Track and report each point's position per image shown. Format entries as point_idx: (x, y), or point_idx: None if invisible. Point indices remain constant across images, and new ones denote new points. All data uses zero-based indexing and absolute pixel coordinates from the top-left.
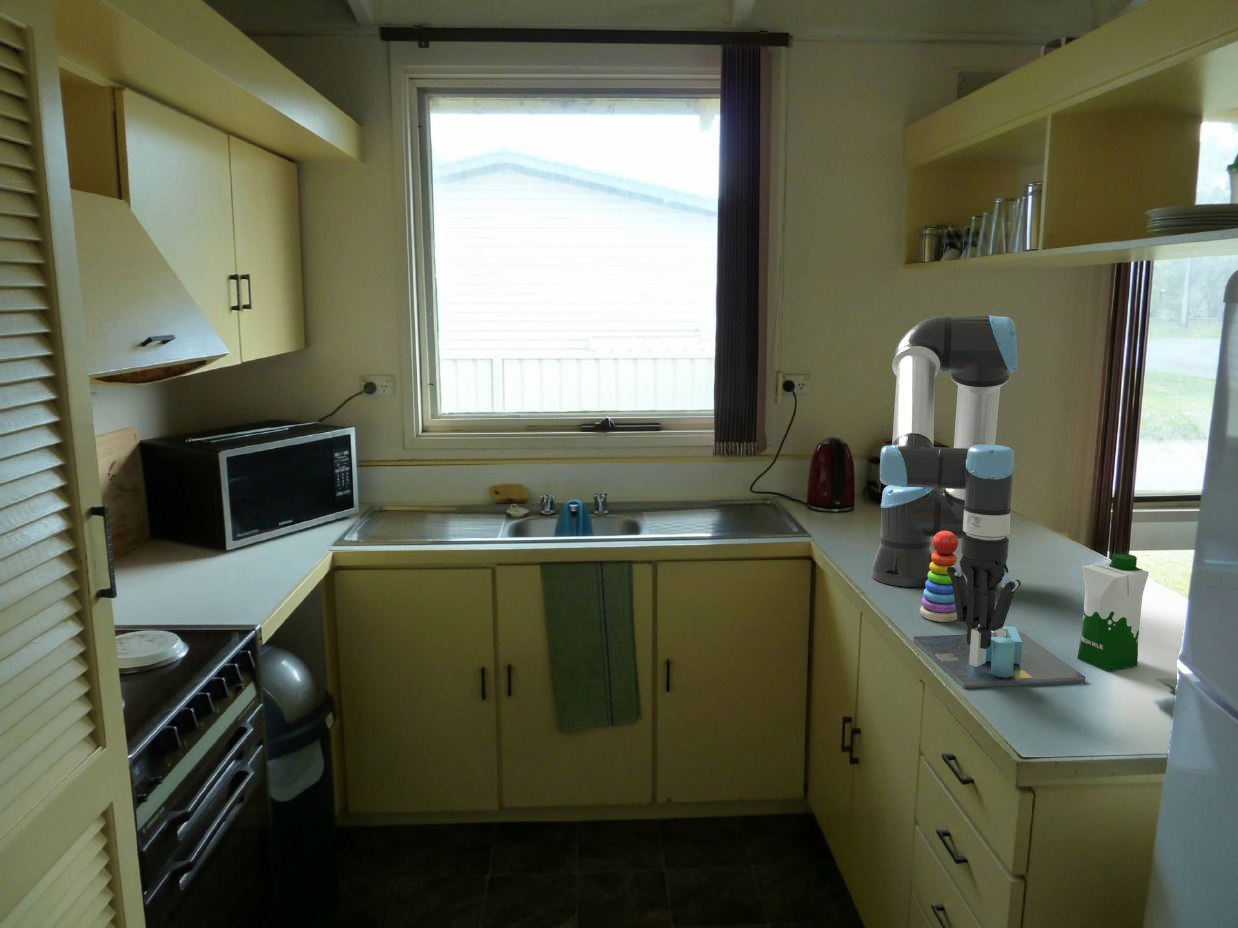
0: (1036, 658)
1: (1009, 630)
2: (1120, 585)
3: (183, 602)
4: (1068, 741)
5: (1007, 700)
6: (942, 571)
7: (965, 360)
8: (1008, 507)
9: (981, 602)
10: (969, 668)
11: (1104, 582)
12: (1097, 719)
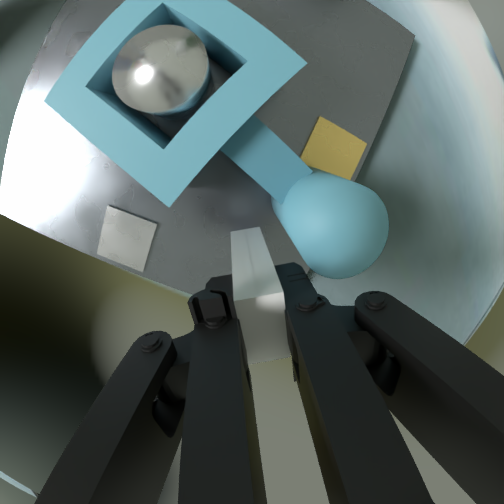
0: (270, 4)
1: (178, 4)
2: None
3: (12, 482)
4: (473, 300)
5: (372, 276)
6: None
7: None
8: None
9: (329, 493)
10: (217, 242)
11: None
12: (486, 199)
